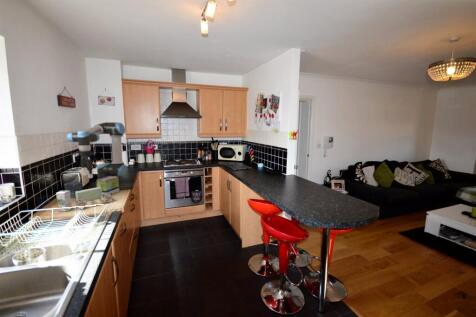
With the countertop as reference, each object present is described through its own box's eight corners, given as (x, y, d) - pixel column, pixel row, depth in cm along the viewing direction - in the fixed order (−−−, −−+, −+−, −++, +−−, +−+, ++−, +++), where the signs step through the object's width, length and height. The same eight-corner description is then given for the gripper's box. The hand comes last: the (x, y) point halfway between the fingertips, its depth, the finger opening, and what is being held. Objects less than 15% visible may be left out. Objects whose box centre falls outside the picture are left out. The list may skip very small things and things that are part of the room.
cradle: (106, 198, 181) (106, 192, 180) (112, 202, 174) (112, 195, 173) (75, 206, 164) (74, 199, 163) (80, 210, 157) (79, 203, 156)
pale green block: (100, 198, 183) (99, 186, 181) (102, 199, 180) (101, 188, 178) (76, 203, 170) (75, 191, 168) (78, 205, 167) (77, 192, 165)
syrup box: (72, 208, 159) (70, 190, 157) (66, 212, 153) (64, 192, 151) (64, 208, 159) (62, 190, 157) (58, 212, 153) (55, 192, 151)
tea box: (107, 196, 187) (105, 180, 184) (97, 195, 189) (95, 179, 186) (119, 191, 201) (118, 176, 199) (110, 190, 203) (109, 175, 201)
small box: (84, 195, 188) (82, 182, 187) (76, 198, 182) (74, 184, 180) (73, 194, 192) (71, 181, 190) (65, 196, 186) (63, 183, 184)
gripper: (74, 149, 173) (77, 175, 176) (84, 152, 158) (87, 180, 161) (85, 149, 179) (87, 173, 182) (96, 151, 164) (98, 178, 167)
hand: (87, 176), depth 172 cm, fingers open, 13 cm apart
